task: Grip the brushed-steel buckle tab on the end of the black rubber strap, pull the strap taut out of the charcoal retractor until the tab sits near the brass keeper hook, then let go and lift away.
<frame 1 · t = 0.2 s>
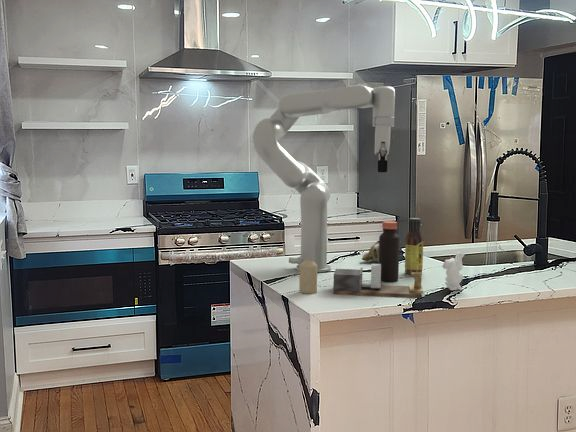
hand: (382, 171, 238), 36 cm above the countertop, fingers open, 9 cm apart
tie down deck: (378, 291, 212), on the countertop
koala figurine: (454, 290, 217), on the countertop
sauce bottle: (413, 274, 241), on the countertop
ceramic sculpture: (378, 262, 263), on the countertop
candle: (308, 292, 211), on the countertop
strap: (359, 275, 212), point 5 cm above the countertop, slide at 0.0 cm
vinegar: (388, 280, 230), on the countertop
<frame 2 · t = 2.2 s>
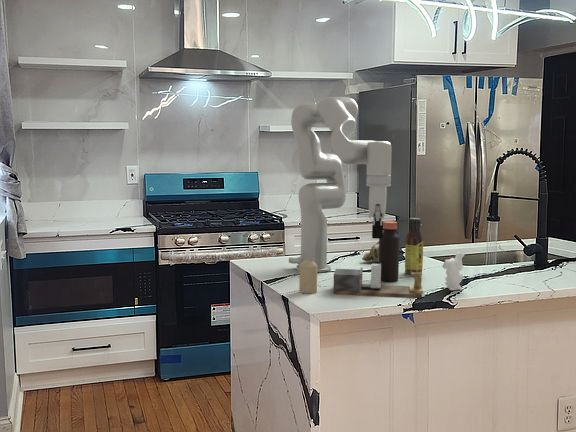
hand: (377, 236, 210), 18 cm above the countertop, fingers open, 9 cm apart
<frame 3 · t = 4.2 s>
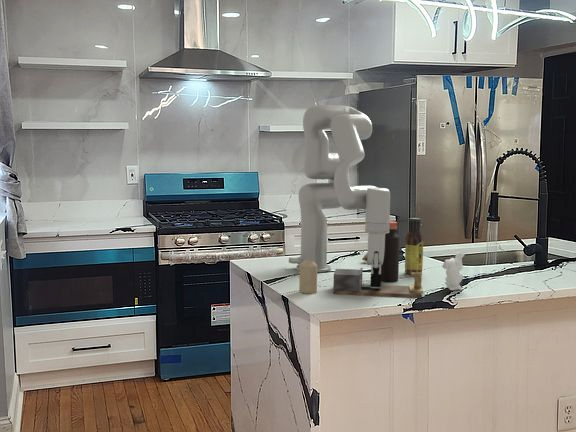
hand: (375, 284, 212), 2 cm above the countertop, fingers closed on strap, 4 cm apart
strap: (359, 275, 212), point 5 cm above the countertop, slide at 0.0 cm, touching gripper
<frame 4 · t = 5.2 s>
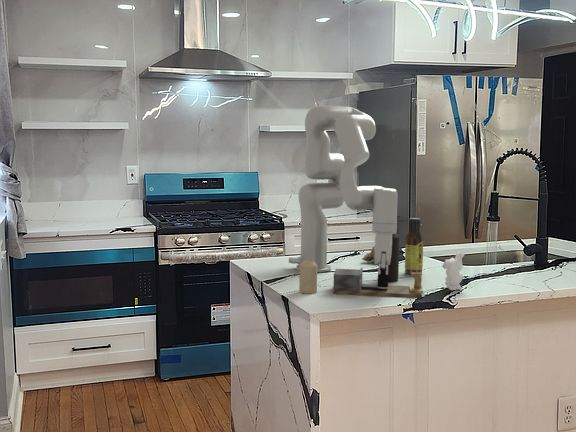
hand: (382, 284, 212), 2 cm above the countertop, fingers closed on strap, 4 cm apart
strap: (366, 275, 212), point 5 cm above the countertop, slide at 2.2 cm, touching gripper
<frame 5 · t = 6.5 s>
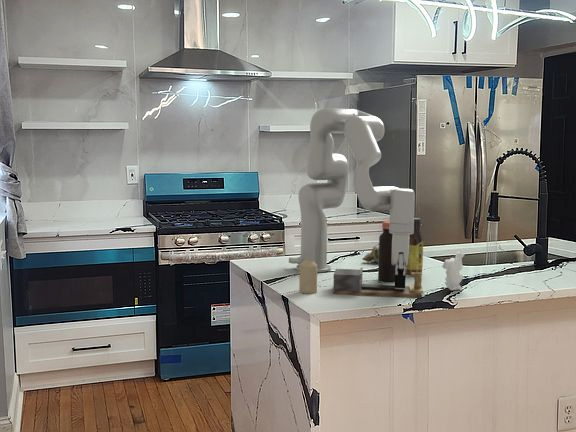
hand: (399, 285, 211), 2 cm above the countertop, fingers closed on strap, 4 cm apart
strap: (383, 276, 211), point 5 cm above the countertop, slide at 7.5 cm, touching gripper
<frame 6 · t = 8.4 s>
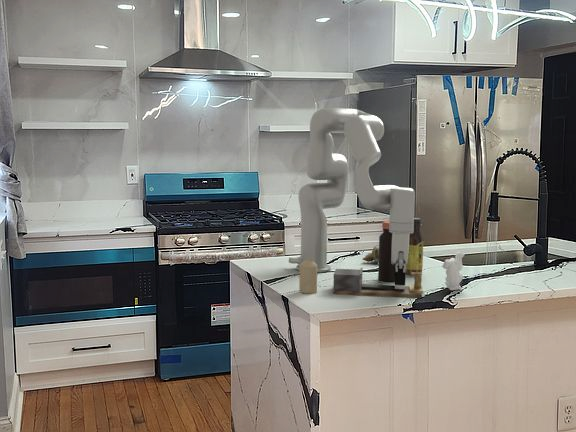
hand: (399, 281, 211), 4 cm above the countertop, fingers open, 9 cm apart
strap: (383, 276, 211), point 5 cm above the countertop, slide at 7.5 cm
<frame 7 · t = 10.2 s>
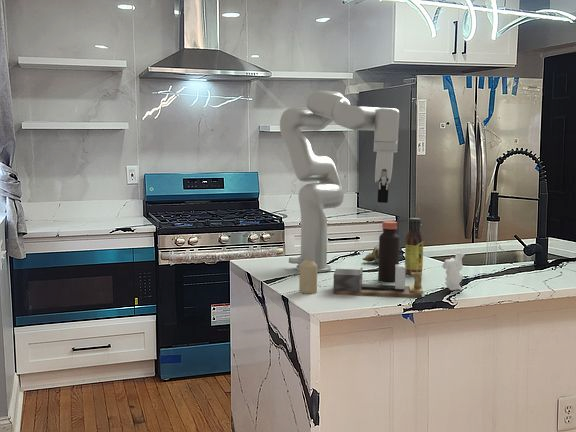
hand: (382, 200, 217), 28 cm above the countertop, fingers open, 9 cm apart
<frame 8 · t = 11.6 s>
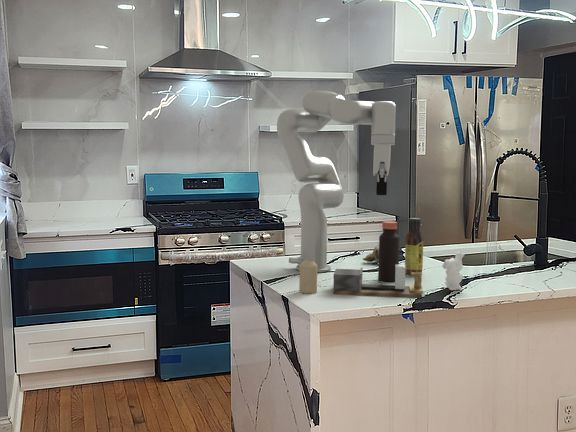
hand: (381, 193, 217), 30 cm above the countertop, fingers open, 9 cm apart
at the end: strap slide at 7.5 cm; the gripper is holding nothing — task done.
